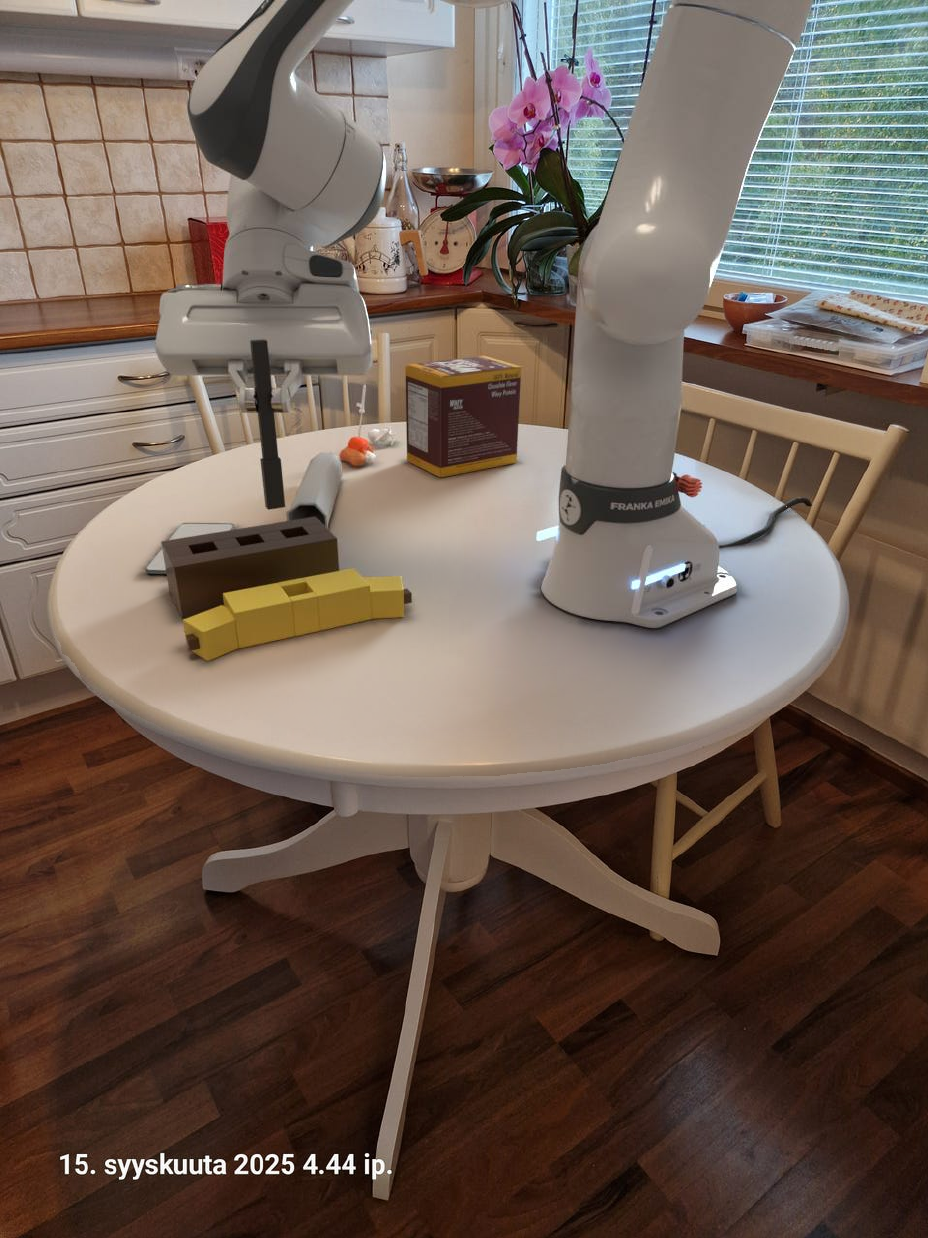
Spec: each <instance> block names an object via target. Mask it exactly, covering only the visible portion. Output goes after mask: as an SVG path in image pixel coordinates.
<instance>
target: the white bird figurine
mask: <svg viewBox="0 0 928 1238" xmlns="http://www.w3.org/2000/svg"><path fill="white" fill-rule="evenodd" d="M394 424H395V422H393V423H392V424H391V425H390V426H389V427H388V428H387V427H385V428H380V429H377V428H372V429H370V430H369V431H368V432H367V438H368V441H371V442H372V443H375V444H376V445H377V444H378V443H380V442H381V443H382V442H386V441H387V440H389V438H390V437H391V442H390V446H391V447H392V446H393V444H394V439H395V437H396V435H397V433H396V432H395V433H393V431H392V428H393V426H394Z"/></svg>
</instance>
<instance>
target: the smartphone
mask: <svg viewBox="0 0 928 1238" xmlns="http://www.w3.org/2000/svg"><path fill="white" fill-rule="evenodd" d="M229 530H235V524H234V523H229V522H228V523H227V522H225V523H223V522H222V523H221V522H219V523H218V522H215V523H214V522H184V523H181V524H179V526H178V527H177V529H175V531H174V532H173V533H172V534H171V536H170V537H169V539H168V540H173V539H179V538H185V537H191V536H198V535H204V534H210V533H216V532H223V531H229ZM144 571H145V572H146V573H147V574H152V575H157V574H158V575H167V574H166V568H165V562H164V556H163V551H162V547H161V548H160V550H159V551H158V552H157V553H156V554H155V556H154V557H153V558H152V560H151V561H150V562H149V563H148V565H147V566H146V567H145V568H144Z"/></svg>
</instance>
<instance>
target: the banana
mask: <svg viewBox="0 0 928 1238" xmlns="http://www.w3.org/2000/svg"><path fill="white" fill-rule="evenodd" d="M223 600H224V606H223V605H221V606H218V607H215V608H213V609H210V610H207V611H205V612H202V613H200V614H197V615H194V616H192V617H189V618H185V619H182V624H183V629H184V636H185V643H186V648H187V649H188V650H189V651H190V652H193V653H194V654H195V655H197V656H199V657H200V658H202V659H203V660H205V661H206V662H210V661H212V660H214V659H216V658H219V657H222V656H224V655H226V654H228V653H231V652H233V651H235V650H238V649H244V648H248V647H254V646H257V645H262V644H266V643H270V642H275V641H281V640H285V639H289V638H294V637H299V636H303V635H308V634H312V633H316V632H320V631H325V630H329V629H333V628H334V629H335V628H339V627H343V626H348V625H352V624H356V623H361V622H365V621H371V620H374V619H375V620H376V619H391V618H405V605H407V604H412V602H413V595H412V591H410V590H409V589H408V588H404V584H403V577H402V575H390V576H387V575H386V576H367V577H362V575H361V574H360V573H359V572H358V571H357V570H356V569H355V568H354V567H352V568H347V569H342V570H341V569H340V570H339V571H336V572H331V573H326V574H320V575H315V576H310V577H305V578H299V579H294V580H288V581H283V582H278V583H274V584H268V585H263V586H258V587H253V588H248V589H242V590H237V591H232V592H227V593H223Z"/></svg>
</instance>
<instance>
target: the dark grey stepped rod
mask: <svg viewBox="0 0 928 1238" xmlns="http://www.w3.org/2000/svg"><path fill="white" fill-rule="evenodd" d="M250 345H251V355H252V364H253V374H254V375H253V381H254V382H253V383H254V388H255V391H256V402H257V410H258V413H257V418H258V429H259V438H260V448H261V458H260V460H259V461H260V469H261V479H262V487H263V488H262V489H263V498H264V506H265V508H266V509H267V510H268V511H270V510H275V509H281V508H282V509H283V508H286V498H285V488H284V477H283V467H282V466H283V465H282V459H281V457H279V448H278V438H277V430H276V429H277V427H276V419H275V418H276V417H275V413H274V412H273V409H272V406H271V398H272V395H271V390H272V388H273V386H272V375H270V365H269V354H268V344H267V340H265V339H263V340H251V341H250Z"/></svg>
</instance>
